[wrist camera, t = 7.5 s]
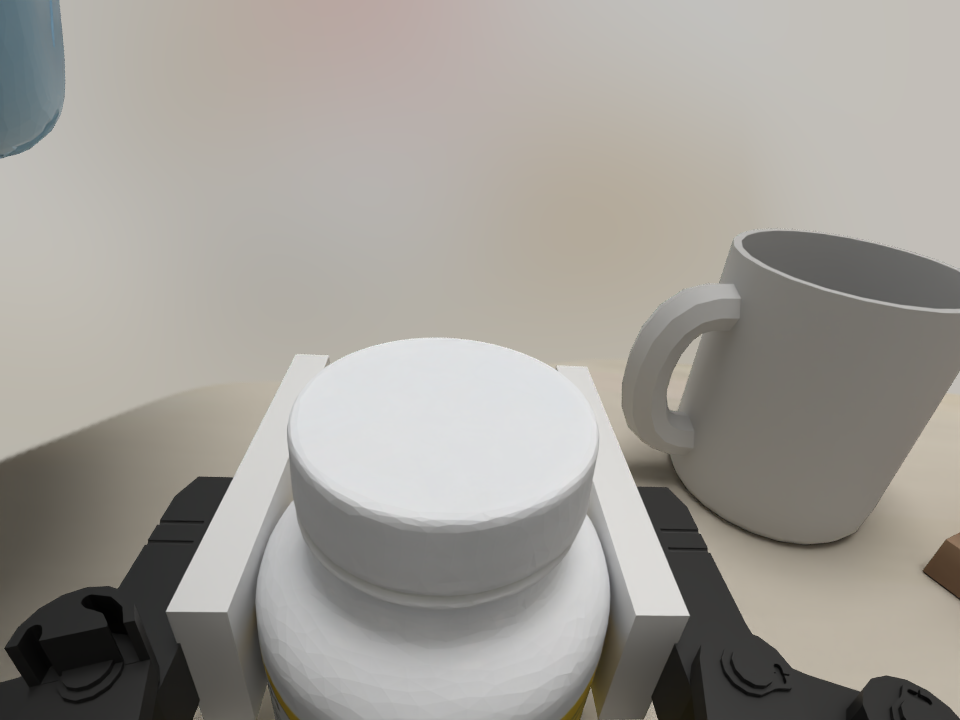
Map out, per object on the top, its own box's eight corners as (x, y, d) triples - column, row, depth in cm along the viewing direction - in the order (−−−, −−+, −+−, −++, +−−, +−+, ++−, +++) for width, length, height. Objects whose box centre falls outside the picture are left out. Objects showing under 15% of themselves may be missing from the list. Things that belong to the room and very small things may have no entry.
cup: (910, 554, 18) (1077, 321, 14) (623, 545, 18) (700, 298, 13) (797, 425, 25) (886, 235, 20) (582, 415, 24) (625, 217, 19)
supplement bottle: (549, 667, 14) (633, 337, 9) (548, 976, 9) (722, 640, 4) (347, 635, 14) (322, 298, 9) (248, 917, 10) (94, 543, 5)
